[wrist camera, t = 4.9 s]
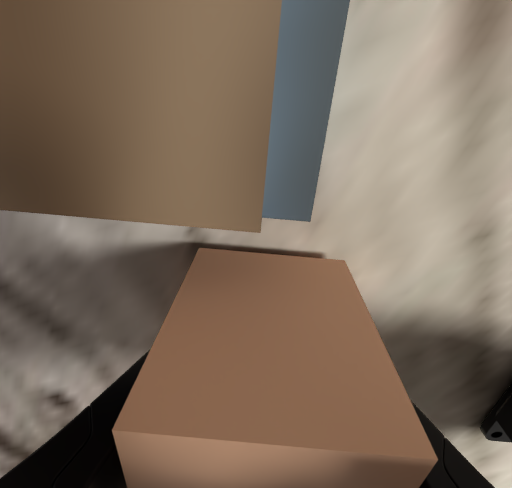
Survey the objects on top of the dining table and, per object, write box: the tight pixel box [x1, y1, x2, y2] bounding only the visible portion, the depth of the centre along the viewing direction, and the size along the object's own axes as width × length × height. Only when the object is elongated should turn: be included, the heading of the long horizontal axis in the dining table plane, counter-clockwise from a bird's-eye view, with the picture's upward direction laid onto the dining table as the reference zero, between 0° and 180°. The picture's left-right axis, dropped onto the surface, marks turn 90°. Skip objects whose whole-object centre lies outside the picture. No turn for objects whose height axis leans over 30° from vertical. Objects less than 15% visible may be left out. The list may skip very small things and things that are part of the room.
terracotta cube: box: [112, 248, 438, 488], centre depth 8 cm, size 5×5×6 cm
